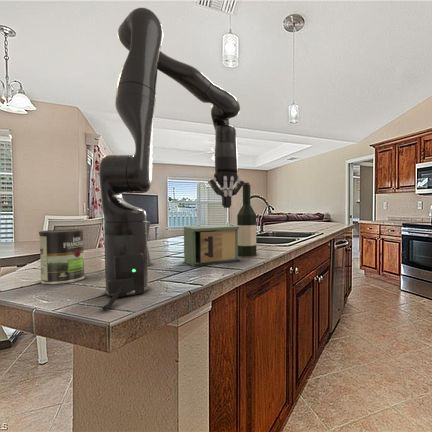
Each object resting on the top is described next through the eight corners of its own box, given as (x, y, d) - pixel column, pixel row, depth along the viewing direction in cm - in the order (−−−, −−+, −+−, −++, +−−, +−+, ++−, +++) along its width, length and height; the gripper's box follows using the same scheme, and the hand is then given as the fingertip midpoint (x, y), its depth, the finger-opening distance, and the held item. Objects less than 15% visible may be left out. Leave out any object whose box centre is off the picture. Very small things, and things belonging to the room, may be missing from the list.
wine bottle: (234, 254, 136) (233, 183, 135) (252, 252, 140) (252, 183, 139) (241, 256, 129) (240, 181, 127) (260, 255, 133) (259, 182, 131)
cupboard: (239, 261, 119) (239, 226, 118) (194, 266, 109) (193, 228, 109) (227, 257, 128) (226, 224, 128) (184, 261, 118) (183, 226, 118)
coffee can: (93, 276, 95) (92, 229, 95) (62, 285, 85) (60, 232, 84) (64, 275, 97) (62, 228, 97) (30, 283, 87) (28, 231, 87)
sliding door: (228, 262, 111) (228, 232, 110) (206, 265, 106) (206, 233, 106) (221, 260, 116) (221, 230, 115) (200, 262, 111) (199, 232, 111)
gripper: (211, 154, 103) (212, 208, 103) (248, 157, 110) (249, 207, 111) (203, 157, 109) (204, 208, 110) (238, 159, 116) (239, 207, 117)
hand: (226, 207), depth 110 cm, fingers closed
